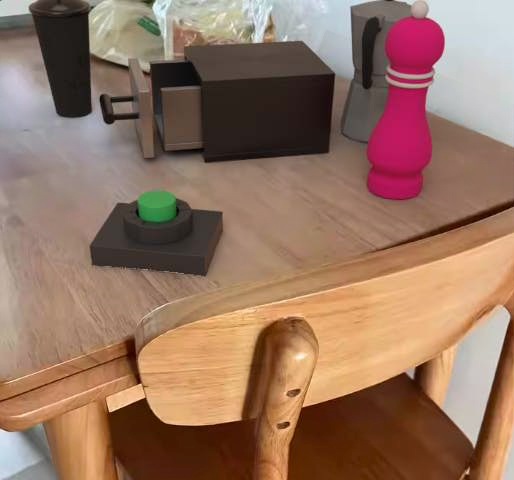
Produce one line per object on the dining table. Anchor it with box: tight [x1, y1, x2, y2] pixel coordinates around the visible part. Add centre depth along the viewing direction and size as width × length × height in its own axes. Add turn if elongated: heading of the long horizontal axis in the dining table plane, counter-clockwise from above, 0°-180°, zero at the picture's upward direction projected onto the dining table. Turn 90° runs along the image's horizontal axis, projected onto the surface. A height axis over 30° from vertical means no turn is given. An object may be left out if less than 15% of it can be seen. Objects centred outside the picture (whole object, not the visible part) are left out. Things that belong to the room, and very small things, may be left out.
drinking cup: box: [28, 0, 93, 118], centre depth 95 cm, size 8×8×20 cm
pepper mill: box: [365, 0, 446, 200], centre depth 78 cm, size 7×7×20 cm
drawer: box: [98, 57, 203, 159], centre depth 90 cm, size 19×13×8 cm
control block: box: [89, 197, 224, 277], centre depth 71 cm, size 11×9×4 cm
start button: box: [137, 189, 177, 222], centre depth 70 cm, size 4×4×2 cm
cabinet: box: [183, 40, 336, 164], centre depth 92 cm, size 16×14×10 cm
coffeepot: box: [339, 0, 412, 144], centre depth 91 cm, size 15×9×18 cm, turn 158°
